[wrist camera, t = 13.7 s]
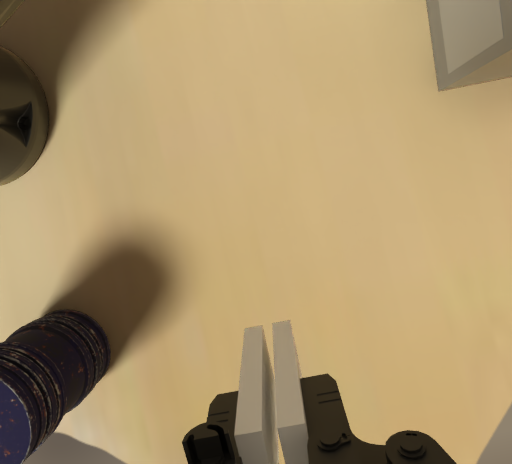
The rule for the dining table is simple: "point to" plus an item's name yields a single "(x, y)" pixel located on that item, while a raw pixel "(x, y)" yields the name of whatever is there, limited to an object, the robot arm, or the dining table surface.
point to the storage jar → (46, 377)
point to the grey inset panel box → (470, 41)
